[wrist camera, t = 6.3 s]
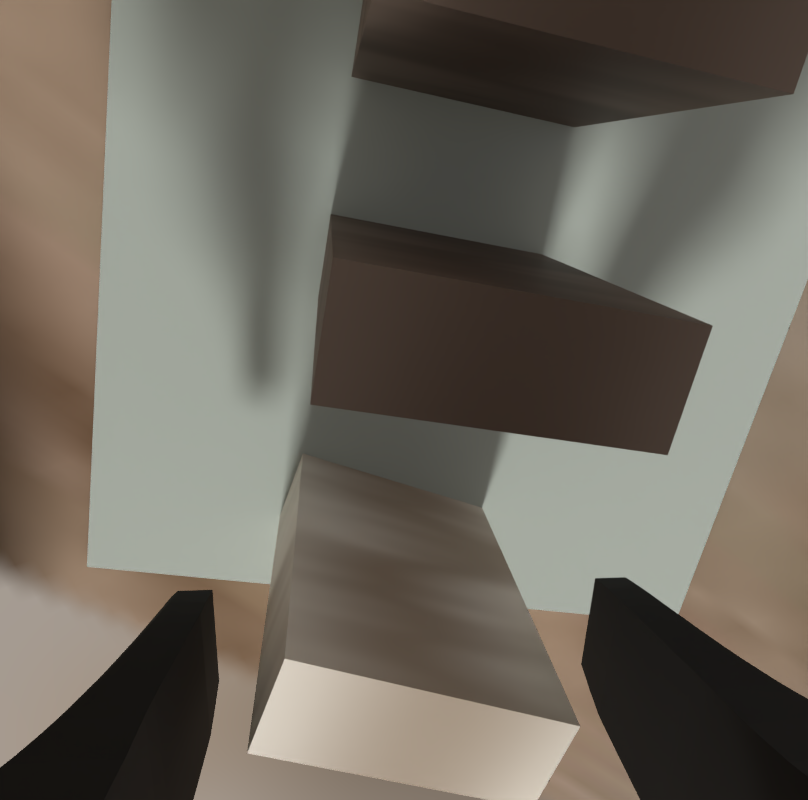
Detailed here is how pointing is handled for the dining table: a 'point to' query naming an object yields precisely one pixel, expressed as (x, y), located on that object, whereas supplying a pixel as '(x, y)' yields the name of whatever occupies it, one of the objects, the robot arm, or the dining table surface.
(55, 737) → the robot arm
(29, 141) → the dining table surface
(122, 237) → the mat
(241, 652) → the dining table surface
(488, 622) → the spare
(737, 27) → the tile
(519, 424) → the tile
